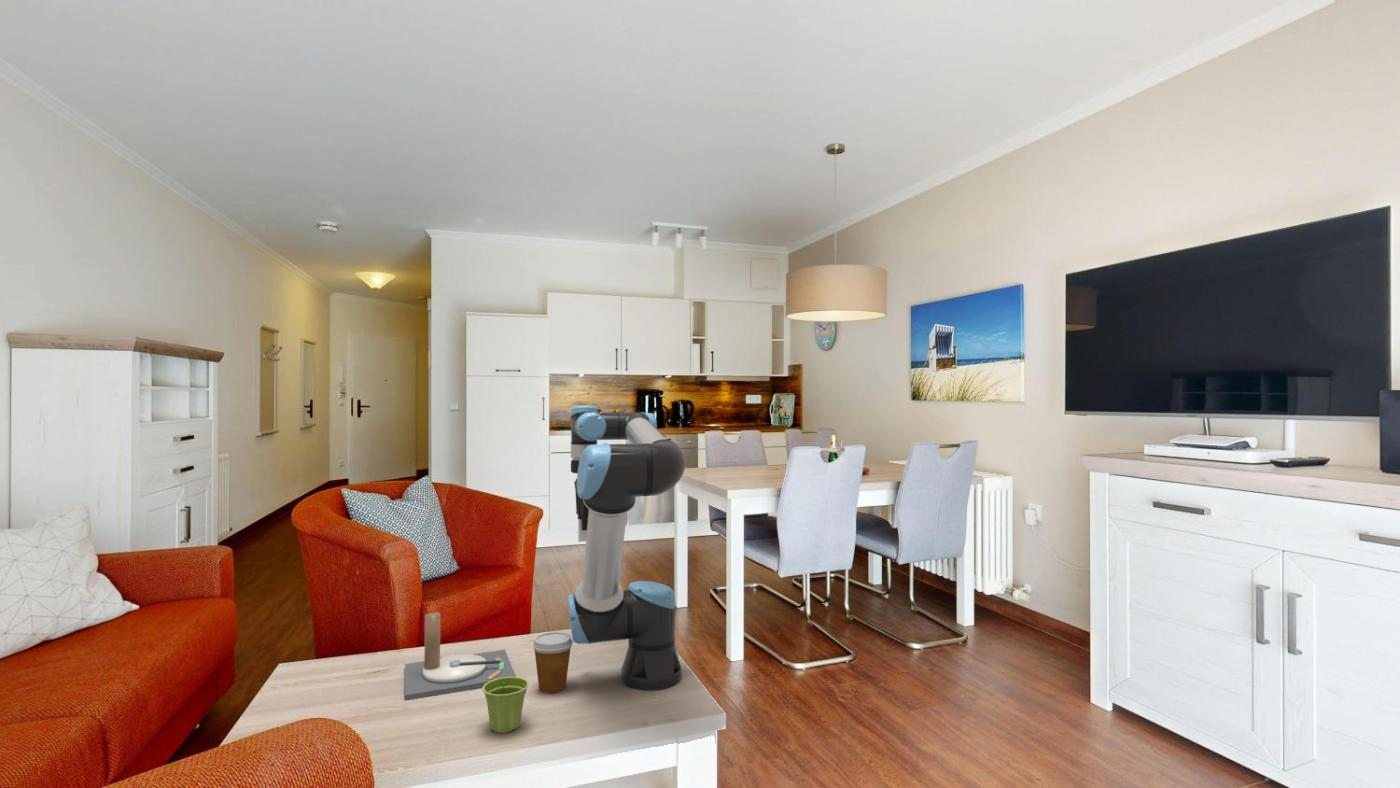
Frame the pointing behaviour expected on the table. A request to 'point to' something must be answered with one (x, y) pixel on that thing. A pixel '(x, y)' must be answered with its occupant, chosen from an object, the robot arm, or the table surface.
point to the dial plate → (423, 688)
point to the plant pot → (505, 702)
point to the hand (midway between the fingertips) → (583, 540)
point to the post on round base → (447, 658)
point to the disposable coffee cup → (552, 660)
